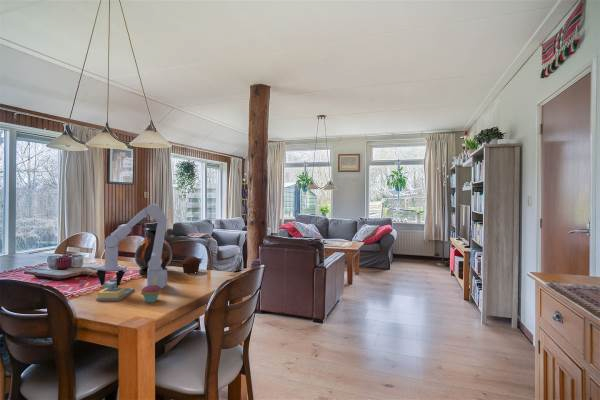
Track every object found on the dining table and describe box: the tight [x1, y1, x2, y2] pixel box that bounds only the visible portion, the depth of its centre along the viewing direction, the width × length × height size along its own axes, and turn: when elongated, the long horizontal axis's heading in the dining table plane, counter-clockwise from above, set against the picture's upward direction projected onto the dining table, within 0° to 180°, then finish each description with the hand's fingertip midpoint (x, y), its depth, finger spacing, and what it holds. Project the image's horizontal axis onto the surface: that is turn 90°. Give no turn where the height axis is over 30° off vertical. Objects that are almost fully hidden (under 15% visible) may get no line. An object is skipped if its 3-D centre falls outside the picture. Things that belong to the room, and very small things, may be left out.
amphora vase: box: [134, 226, 173, 275], centre depth 200 cm, size 22×22×28 cm
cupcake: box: [140, 274, 162, 303], centre depth 146 cm, size 9×8×12 cm
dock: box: [96, 287, 135, 302], centre depth 152 cm, size 10×16×4 cm, turn 5°
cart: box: [102, 278, 119, 291], centre depth 162 cm, size 6×4×4 cm
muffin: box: [181, 255, 201, 274], centre depth 203 cm, size 12×11×10 cm
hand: (110, 285), depth 162 cm, fingers open, 7 cm apart
